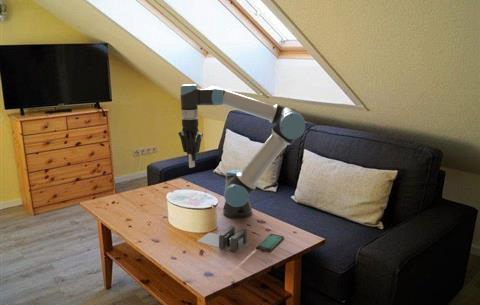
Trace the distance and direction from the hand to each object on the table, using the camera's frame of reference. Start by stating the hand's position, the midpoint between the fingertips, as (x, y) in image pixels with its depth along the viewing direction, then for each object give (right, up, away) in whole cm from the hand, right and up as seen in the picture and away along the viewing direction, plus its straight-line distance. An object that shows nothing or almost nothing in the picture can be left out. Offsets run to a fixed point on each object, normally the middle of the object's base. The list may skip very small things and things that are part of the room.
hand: (192, 166), depth 189 cm
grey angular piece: (+16, -34, -13) cm, 40 cm away
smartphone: (+37, -34, -13) cm, 52 cm away
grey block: (+19, -34, -16) cm, 42 cm away
